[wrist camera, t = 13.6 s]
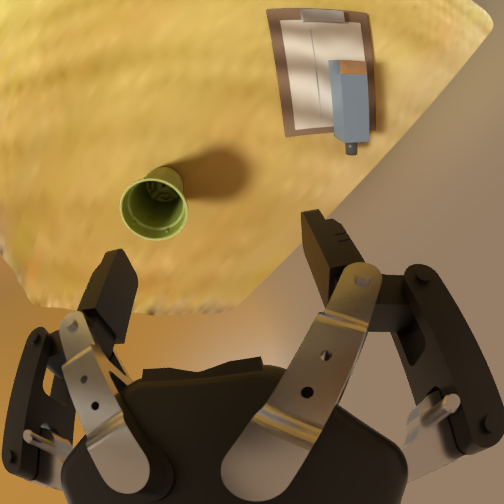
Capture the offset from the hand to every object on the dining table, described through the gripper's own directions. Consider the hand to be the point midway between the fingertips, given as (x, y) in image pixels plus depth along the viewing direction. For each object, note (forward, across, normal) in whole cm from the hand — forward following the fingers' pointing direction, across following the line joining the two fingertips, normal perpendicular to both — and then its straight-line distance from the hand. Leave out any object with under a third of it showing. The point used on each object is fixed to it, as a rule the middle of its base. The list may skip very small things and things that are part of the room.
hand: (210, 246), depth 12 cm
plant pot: (+30, +10, +8) cm, 33 cm away
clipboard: (+30, -17, -6) cm, 35 cm away
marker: (+29, -19, 0) cm, 35 cm away
